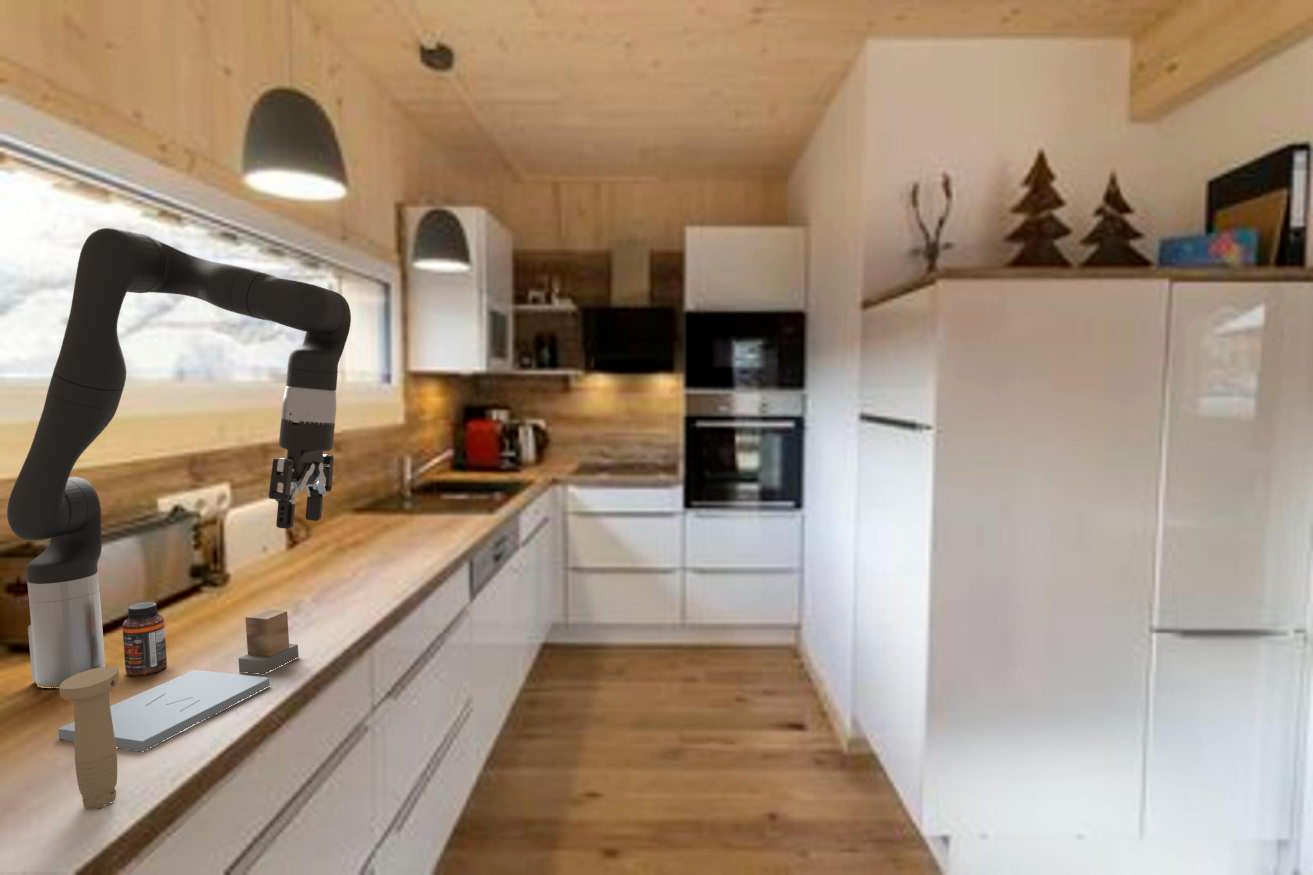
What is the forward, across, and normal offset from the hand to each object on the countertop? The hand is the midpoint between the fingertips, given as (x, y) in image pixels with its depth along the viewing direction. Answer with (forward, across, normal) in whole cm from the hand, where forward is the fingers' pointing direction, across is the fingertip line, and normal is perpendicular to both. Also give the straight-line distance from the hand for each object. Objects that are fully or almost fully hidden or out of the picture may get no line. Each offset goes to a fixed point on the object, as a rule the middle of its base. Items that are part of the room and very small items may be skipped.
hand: (299, 523), depth 119 cm
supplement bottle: (+30, -11, -30) cm, 44 cm away
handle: (+29, +30, -5) cm, 42 cm away
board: (+29, +5, -14) cm, 32 cm away
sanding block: (+27, -13, -10) cm, 32 cm away
